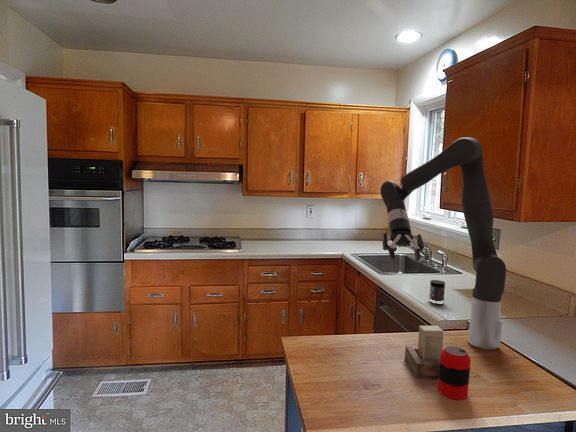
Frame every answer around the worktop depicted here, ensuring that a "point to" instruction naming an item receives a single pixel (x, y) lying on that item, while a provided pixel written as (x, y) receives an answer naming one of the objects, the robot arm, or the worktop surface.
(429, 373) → the walnut holder block
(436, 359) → the skincare box
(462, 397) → the soda can
